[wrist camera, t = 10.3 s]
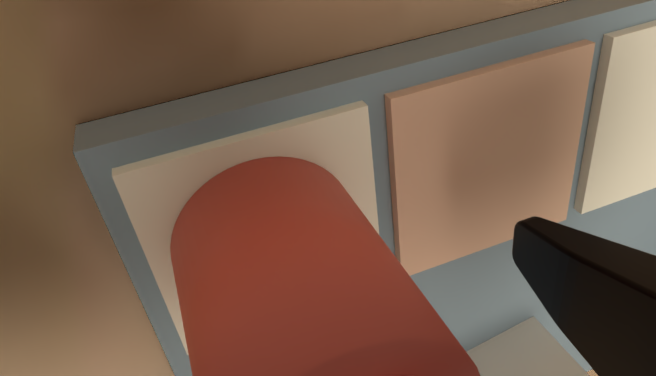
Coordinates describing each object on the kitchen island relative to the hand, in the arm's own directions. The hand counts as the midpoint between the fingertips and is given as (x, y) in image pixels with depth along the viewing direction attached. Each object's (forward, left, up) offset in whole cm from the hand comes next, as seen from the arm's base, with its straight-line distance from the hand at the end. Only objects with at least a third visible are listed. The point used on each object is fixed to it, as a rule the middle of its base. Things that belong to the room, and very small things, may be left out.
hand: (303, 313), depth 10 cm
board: (-4, -10, -4) cm, 11 cm away
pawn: (0, 0, -2) cm, 2 cm away
